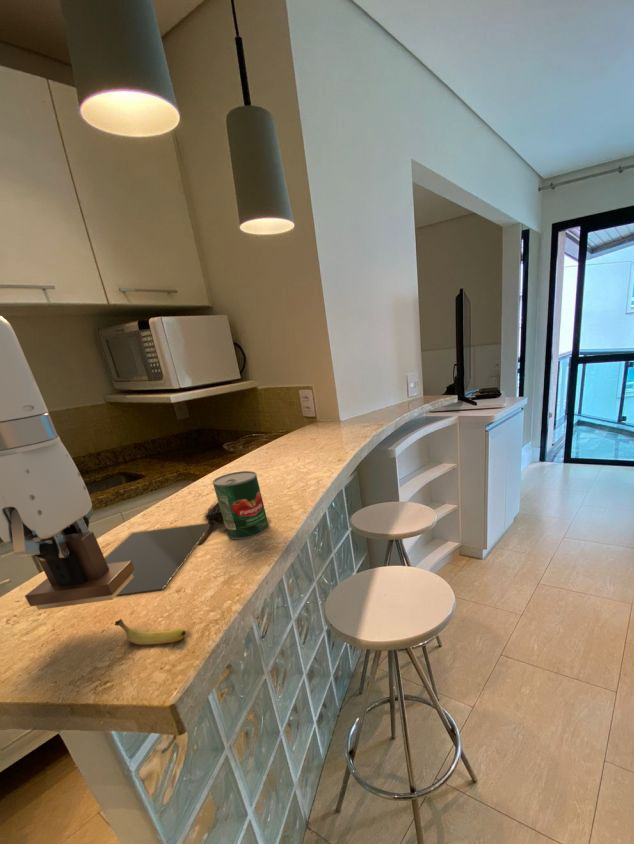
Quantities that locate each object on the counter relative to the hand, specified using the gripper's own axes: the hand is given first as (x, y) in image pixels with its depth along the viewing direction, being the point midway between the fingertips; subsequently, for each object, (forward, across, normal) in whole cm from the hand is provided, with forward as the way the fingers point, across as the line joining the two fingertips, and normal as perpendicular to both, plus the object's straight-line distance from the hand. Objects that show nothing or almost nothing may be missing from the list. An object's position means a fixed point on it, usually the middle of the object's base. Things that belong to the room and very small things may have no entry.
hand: (80, 576), depth 52 cm
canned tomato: (+8, -26, +14) cm, 31 cm away
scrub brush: (+3, 0, 0) cm, 3 cm away
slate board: (+8, -18, -2) cm, 20 cm away
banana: (+8, +6, +10) cm, 14 cm away
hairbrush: (+8, -42, +6) cm, 43 cm away
